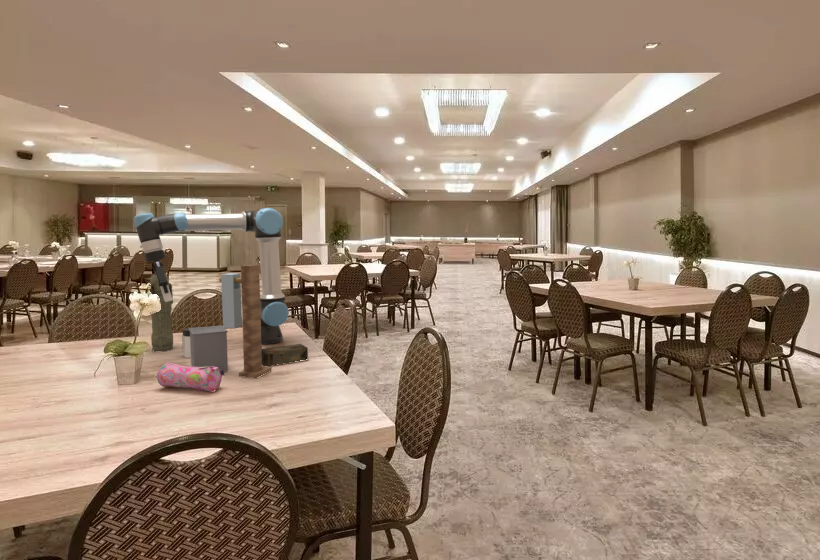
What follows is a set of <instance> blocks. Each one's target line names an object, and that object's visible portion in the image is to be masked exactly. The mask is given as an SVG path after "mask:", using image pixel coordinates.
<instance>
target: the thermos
mask: <svg viewBox="0 0 820 560" xmlns="http://www.w3.org/2000/svg"><path fill="white" fill-rule="evenodd" d="M164 274H165V277H166V280H167V282H168V286H169V290H170V293H171V296H172V301H168V302H165V301H164V298H163V295H162V291H161V288H160V287H159V281H158V277H157V275H156V274H155V272H154V273H153V274H151V277H150V279H149V284H148V285H147V288H146V290H147V289H148V286H151V290H150V292H151V293H152V294H157V295H158V296H159V298H160V302H161V310H160V311H159V312H156V313H154V314H151V313H150V314H151V330H152V334H151V336H150V338H151V340H150V341H151V348H152V351H153V350H154V351H153V352H156V351H162V352H168V351H167V350H169V351H172V350H173V349H174V334H173V332H172V330H173V329H172V309H173V308H172V307H173V306H172V305H173V304H174V299H173V298H174V297H173V285H172V284H171V283H170V280H169V277H168V274H166V273H164ZM150 284H151V285H150ZM147 292H148V290H147V291H146V293H147ZM171 349H172V350H171Z"/></svg>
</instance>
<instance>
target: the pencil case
mask: <svg viewBox="0 0 820 560" xmlns="http://www.w3.org/2000/svg"><path fill="white" fill-rule="evenodd" d="M223 376H225V371H220V370H219V369H218V367H214V366H207V367H206V366H205V367H191V366H186V365H181V364H176V363H173V362H166V363H165V364H163V365H161V367H160V368H159V369H158V370H157V372H156V378H157V382H158V384H159V385H160V386H161V387H164V388H187V389H196V390H199V391H204V390H205V392H209V393H213V392H212V391H214V390H216V389H217V390H218V389H219V387H220V386H221V382H222V378H223ZM217 390H216V391H217Z"/></svg>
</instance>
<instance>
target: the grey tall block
mask: <svg viewBox="0 0 820 560" xmlns="http://www.w3.org/2000/svg"><path fill="white" fill-rule="evenodd" d="M220 277H221V282H220V283H221V301H222V302H221V305H222V306H221V307H222V326H223V328H225V329H237V328H240V327H243V320H242V288H241V283H234V278H241V273H236V272H235V273H234V272H229V273H222V274H220Z"/></svg>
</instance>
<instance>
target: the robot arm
mask: <svg viewBox="0 0 820 560" xmlns="http://www.w3.org/2000/svg"><path fill="white" fill-rule="evenodd" d="M133 222H134V226H135V229H136V234H137V237H138V238H139V242H140V246H139V248H140V249H142V252H143V253H144V255H143V256H144V258H145V261H146V263H152V262H153V265H152V269H153V271H154V273H155V274H156V275H157V277H158V281H159V287H160V288H161V291H162V295H163V298H164V301H165V302H168V301H172V296H171V293H170V290H169V286H168V282H167V280H166V277H165V274H166V273H165V272H166V271H165V269H164V268H165V267H164V263H162V261H161V260H164V259H166V253H165V251H164V250H163V248H164V246H163V243H162V239H161V237H160V236H161V235H166V234H172V233H177V232H203V231H204V232H205V231H206V232H208V231H237V230H239V231H240V230H241V231H242V232H244V233H245V232H246V233H247V232H248V233H249V232H251V233H252V232H253V233H254V237H255V238H254V239H255V240H256V241H257V242H258V245H259V247H258V249H259V261H260V262H259V263H260V264H259V265H260V273H261V274H260V275H261V290H262V291H261V294H260V313H261V345H273V344H277V343H281V342H283V341H284V334H283V333H282V329H281V326H282V325H283V324H284V323H285V322H286V321H287V320H288V318H289V313H290V312H289V309H288V306H287V305H286V303H287V302H286V295H285V294H284V293H283V292H282V277H281V266H280V265H281V263H280V249H279V247H280V246H279V241H280V240H281V239H282V228H283V226H284V219H283V216H282V215H281V213H280V212H279V211H278V210H276V209H275V208H272V207H263V208H258V209H255V210H254V209H253V210H245V211H244V210H243V211H241V212H240V213H196V214H195V213H193V214H192V213H190V214H188V213H187V214H186V213H185V212H183V211H181V212H176V213H171V214H166V215H162V216H154V214H153V213H151V212H147V213H141V214H137V215H135V216H134V217H133ZM164 273H165V274H164Z"/></svg>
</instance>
